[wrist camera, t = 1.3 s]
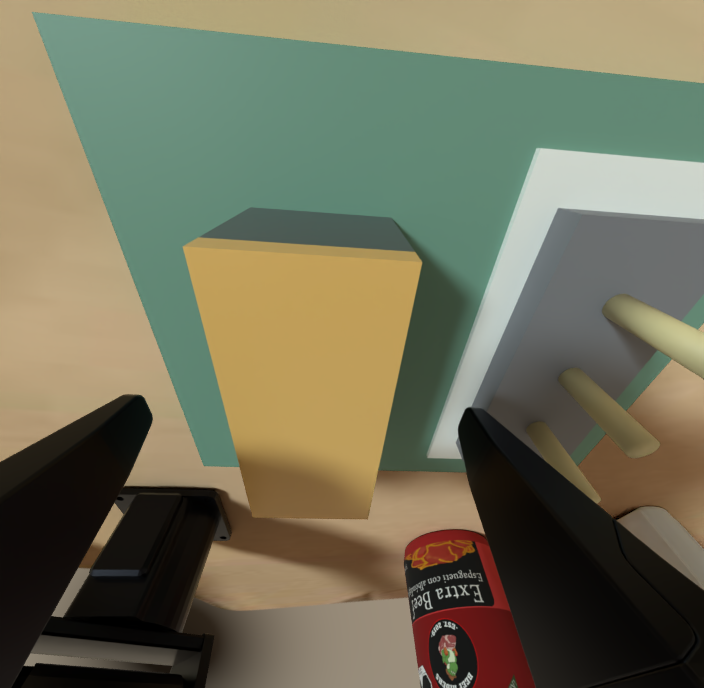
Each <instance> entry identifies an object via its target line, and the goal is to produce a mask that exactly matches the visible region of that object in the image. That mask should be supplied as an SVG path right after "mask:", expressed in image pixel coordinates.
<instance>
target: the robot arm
mask: <svg viewBox="0 0 704 688" xmlns="http://www.w3.org/2000/svg"><path fill="white" fill-rule="evenodd" d="M152 420H153V417H152V413H151V411H150V409H149V407H148V405H147V403H146V400H145V398H144V397H143V396H141V395H131V394H126V395H122V396H120V397H118V398H117V399H115V400H113V401H111V402H109V403H107V404H106V405H104V406H102V407H100V408H98V409H96V410H95V411H93V412H91V413H89V414H87V415H85V416H84V417H82V418H80V419H78V420H76V421H74V422H73V423H71V424H69V425H67V426H65V427H63V428H62V429H60V430H58V431H56V432H54V433H52V434H51V435H49V436H47V437H45V438H43V439H41V440H40V441H38V442H36V443H34V444H32V445H31V446H29V447H27V448H25V449H23V450H21V451H20V452H18V453H16V454H14V455H12V456H10V457H9V458H7V459H5V460H3V461H1V462H0V688H205V684H206V678H207V673H208V668H209V662H210V657H211V651H212V646H213V640H214V635H213V634H203V635H195V634H187V633H182V630H183V627H184V624H185V621H186V619H187V615H188V613H189V610H190V607H191V604H192V601H193V598H194V595H195V592H196V589H197V586H198V583H199V580H200V578H201V575H202V572H203V569H204V566H205V563H206V560H207V557H208V554H209V551H210V548H211V545H212V542H213V541H227V540H229V539H230V537H231V534H232V531H231V528H230V526H229V523H228V520H227V517H226V515H225V512H224V509H223V507H222V504H221V501H220V498H219V496H218V494H217V492H215V491H212V490H183V489H132V488H123V486H124V484H125V483H126V481H127V479H128V477H129V475H130V473H131V470H132V468H133V466H134V464H135V461H136V459H137V457H138V455H139V452H140V450H141V448H142V445H143V443H144V441H145V438H146V436H147V434H148V431H149V429H150V427H151V424H152ZM458 436H459V441H460V445H461V450H462V454H463V459H464V464H465V468H466V473H467V477H468V481H469V485H470V489H471V492H472V495H473V498H474V501H475V504H476V507H477V510H478V513H479V516H480V519H481V523H482V526H483V529H484V532H485V535H486V538H487V541H488V544H489V547H490V550H491V553H492V556H493V559H494V562H495V565H496V568H497V571H498V574H499V577H500V580H501V583H502V586H503V589H504V592H505V595H506V598H507V602H508V605H509V608H510V611H511V614H512V617H513V620H514V623H515V626H516V629H517V632H518V635H519V638H520V641H521V644H522V647H523V650H524V653H525V656H526V659H527V662H528V665H529V668H530V671H531V674H532V678H533V681H534V684H535V687H536V688H704V590H703V589H702V588H700V587H699V586H698V585H696V584H695V583H694V582H693V581H691V580H690V579H689V578H687V577H686V576H685V575H684V574H682V573H681V572H680V571H678V570H677V569H676V568H675V567H673V566H672V565H671V564H669V563H668V562H667V561H666V560H664V559H663V558H662V557H661V556H659V555H658V554H657V553H656V552H654V551H653V550H652V549H651V548H649V547H648V546H647V545H646V544H645V543H643V542H642V541H641V540H640V539H638V538H637V537H636V536H635V535H634V534H632V533H631V532H630V531H629V530H628V529H626V528H625V527H624V526H623V525H622V524H620V523H619V522H618V521H617V520H616V519H612V517H611V515H609V514H608V513H607V512H606V511H605V510H604V509H602V508H601V507H600V506H599V505H598V504H596V503H595V502H594V501H593V500H592V499H590V498H589V497H588V496H587V495H586V494H584V493H583V492H582V491H581V490H580V489H578V488H577V487H576V486H575V485H574V484H572V483H571V482H570V481H569V480H568V479H566V478H565V477H564V476H563V475H562V474H560V473H559V472H558V471H557V470H556V469H555V468H553V467H552V466H551V465H550V464H549V463H547V462H546V461H545V460H544V459H543V458H541V457H540V456H539V455H538V454H537V453H535V452H534V451H533V450H532V449H531V448H529V447H528V446H527V445H526V444H525V443H523V442H522V441H521V440H520V439H519V438H517V437H516V436H515V435H514V434H513V433H512V432H510V431H509V430H508V429H507V428H506V427H504V426H503V425H502V424H501V423H500V422H498V421H497V420H496V419H495V418H494V417H492V416H491V415H490V414H489V413H488V412H486V411H485V410H484V409H483V408H480V407H467V408H466V409H465V411H464V413H463V415H462V418H461V420H460V422H459V425H458ZM114 503H115V504H116V505H117V506H118V508H119V509H120V510H121V512H122V513H123V514H124V515H123V517H122V518H121V520H120V522H119V523H118V525H117V527H116V528H115V530H114V531H113V533H112V535H111V536H110V538H109V540H108V541H107V543H106V544H105V546H104V548H103V549H102V551H101V553H100V554H99V556H98V558H97V559H96V561H95V562H94V564H93V566H92V567H91V569H90V572H89V573H90V574H89V576H88V577H87V579H86V580H85V582H84V584H83V585H82V587H81V589H80V590H79V592H78V593H77V595H76V597H75V598H74V600H73V602H72V603H71V605H70V607H69V608H68V610H67V612H66V613H65V615H64V617H63V618H62V617H54V616H51V615H52V613H53V612H54V610H55V608H56V606H57V605H58V603H59V601H60V599H61V597H62V596H63V594H64V592H65V590H66V588H67V587H68V585H69V583H70V581H71V579H72V578H73V576H74V574H75V572H76V570H77V569H78V567H79V565H80V563H81V562H82V560H83V558H84V556H85V554H86V553H87V551H88V549H89V547H90V545H91V544H92V542H93V540H94V538H95V537H96V535H97V533H98V531H99V529H100V528H101V526H102V524H103V522H104V520H105V519H106V517H107V515H108V513H109V511H110V510H111V508H112V506H113V504H114ZM30 653H34V654H46V655H57V656H68V657H80V658H91V659H103V660H114V661H127V662H138V663H148V664H160V665H171V666H172V669H171V671H170V673H158V672H146V671H133V670H120V669H107V668H94V667H81V666H67V665H56V664H43V663H36V664H35V666H23V665H24V664H25V662H26V660H27V658H28V656H29V655H30Z"/></svg>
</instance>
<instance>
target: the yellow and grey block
mask: <svg viewBox="0 0 704 688" xmlns="http://www.w3.org/2000/svg"><path fill="white" fill-rule="evenodd" d="M183 250H184V254H185V258H186V262H187V266H188V269H189V273H190V277H191V281H192V285H193V289H194V293H195V296H196V300H197V304H198V308H199V312H200V316H201V320H202V323H203V327H204V331H205V335H206V339H207V343H208V347H209V351H210V354H211V358H212V362H213V366H214V370H215V374H216V378H217V381H218V385H219V389H220V393H221V397H222V401H223V405H224V408H225V412H226V416H227V420H228V424H229V428H230V432H231V436H232V439H233V443H234V447H235V451H236V455H237V459H238V463H239V466H240V470H241V474H242V478H243V482H244V486H245V490H246V493H247V497H248V501H249V505H250V509H251V513H252V517H253V518H313V519H368V516H369V511H370V507H371V502H372V497H373V492H374V488H375V483H376V478H377V473H378V469H379V464H380V459H381V455H382V450H383V445H384V440H385V436H386V431H387V426H388V422H389V417H390V412H391V407H392V403H393V398H394V393H395V389H396V384H397V379H398V374H399V370H400V365H401V360H402V356H403V351H404V346H405V341H406V337H407V332H408V327H409V323H410V318H411V313H412V308H413V304H414V299H415V294H416V290H417V285H418V280H419V275H420V271H421V266H422V261H421V259H420V258H419V257H418V255H417V254H416V252H415V251H414V249H413V248H412V247H411V245H410V244H409V242H408V241H407V239H406V238H405V237H404V235H403V234H402V232H401V231H400V229H399V228H398V227H397V225H396V224H395V222H394V221H393V219H392V218H390V217H376V216H363V215H349V214H335V213H322V212H308V211H295V210H281V209H267V208H254V207H250V208H248V209H247V210H245V211H243V212H241V213H240V214H238V215H236V216H234V217H233V218H231V219H229V220H228V221H226V222H224V223H222V224H221V225H219V226H217V227H215V228H214V229H212V230H210V231H208V232H207V233H205V234H203V235H202V236H200V237H198V238H196V239H195V240H193V241H191V242H189V243H188V244H186V245H184V246H183Z"/></svg>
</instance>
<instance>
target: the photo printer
mask: <svg viewBox="0 0 704 688" xmlns="http://www.w3.org/2000/svg"><path fill="white" fill-rule="evenodd" d="M617 521H618V522H619V523H620V524H622V525H623V526H624V527H625V528H626V529H628V530H629V531H630V532H631V533H632V534H634V535H635V536H636V537H637V538H638V539H640V540H641V541H642V542H643V543H645V544H646V545H647V546H648V547H649V548H651V549H652V550H653V551H654V552H656V553H657V554H658V555H659V556H661V557H662V558H663V559H664V560H666V561H667V562H668V563H669V564H671V565H672V566H673V567H675V568H676V569H677V570H678V571H680V572H681V573H682V574H684V575H685V576H686V577H687V578H689V579H690V580H691V581H693V582H694V583H695V584H696V585H698V586H699V587H700V588H702V589H703V590H704V549H703V548H702V547H701V546H700V545H699V543H698V542H697V541H696V540H695V539H694V538H693V537H692V536H691V535H690V534H689V532H688V531H687V530H686V529H685V528H684V527H683V526H682V525H681V524H680V523H679V522H678V521H677V520H676V519H675V518H673V517H672V516H671V515H670V514H669V513H668V512H667V511H666V510H665V509H663V508H660V507H654V506H645V507H639V508H637V509H636V510H634V511H632V512H631V513H629V514H627V515H625V516H623V517H622V518H620V519H618V520H617Z"/></svg>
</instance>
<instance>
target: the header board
mask: <svg viewBox="0 0 704 688" xmlns="http://www.w3.org/2000/svg"><path fill="white" fill-rule="evenodd" d="M32 14H33V16H34V19H35V22H36V24H37V27H38V29H39V32H40V35H41V37H42V40H43V43H44V45H45V48H46V51H47V53H48V56H49V59H50V61H51V64H52V66H53V69H54V72H55V74H56V77H57V80H58V82H59V85H60V88H61V90H62V93H63V95H64V98H65V101H66V103H67V106H68V109H69V111H70V114H71V117H72V119H73V122H74V125H75V127H76V130H77V132H78V135H79V138H80V140H81V143H82V146H83V148H84V151H85V154H86V156H87V159H88V161H89V164H90V167H91V169H92V172H93V175H94V177H95V180H96V183H97V185H98V188H99V191H100V193H101V196H102V198H103V201H104V204H105V206H106V209H107V212H108V214H109V217H110V220H111V222H112V225H113V227H114V230H115V233H116V235H117V238H118V241H119V243H120V246H121V249H122V251H123V254H124V257H125V259H126V262H127V264H128V267H129V270H130V272H131V275H132V278H133V280H134V283H135V286H136V288H137V291H138V293H139V296H140V299H141V301H142V304H143V307H144V309H145V312H146V315H147V317H148V320H149V323H150V325H151V328H152V330H153V333H154V336H155V338H156V341H157V344H158V346H159V349H160V352H161V354H162V357H163V360H164V362H165V365H166V367H167V370H168V373H169V375H170V378H171V381H172V383H173V386H174V389H175V391H176V394H177V396H178V399H179V402H180V404H181V407H182V410H183V412H184V415H185V418H186V420H187V423H188V426H189V428H190V431H191V433H192V436H193V439H194V441H195V444H196V447H197V449H198V452H199V455H200V457H201V460H202V462H203V465H204V466H220V467H240V466H239V463H238V459H237V455H236V451H235V447H234V443H233V439H232V436H231V432H230V428H229V424H228V420H227V416H226V412H225V408H224V405H223V401H222V397H221V393H220V389H219V385H218V381H217V378H216V374H215V370H214V366H213V362H212V358H211V354H210V351H209V347H208V343H207V339H206V335H205V331H204V327H203V323H202V320H201V316H200V312H199V308H198V304H197V300H196V296H195V293H194V289H193V285H192V281H191V277H190V273H189V269H188V266H187V262H186V258H185V254H184V250H183V246H184V245H186V244H188V243H189V242H191V241H193V240H195V239H196V238H198V237H200V236H202V235H203V234H205V233H207V232H208V231H210V230H212V229H214V228H215V227H217V226H219V225H221V224H222V223H224V222H226V221H228V220H229V219H231V218H233V217H234V216H236V215H238V214H240V213H241V212H243V211H245V210H247V209H248V208H250V207H254V208H267V209H281V210H295V211H308V212H322V213H335V214H349V215H363V216H376V217H390V218H392V219H393V221H394V222H395V224H396V225H397V227H398V228H399V229H400V231H401V232H402V234H403V235H404V237H405V238H406V239H407V241H408V242H409V244H410V245H411V247H412V248H413V249H414V251H415V252H416V254H417V255H418V257H419V258H420V259H421V261H422V266H421V271H420V275H419V280H418V285H417V290H416V294H415V299H414V304H413V308H412V313H411V318H410V323H409V327H408V332H407V337H406V341H405V346H404V351H403V356H402V360H401V365H400V370H399V374H398V379H397V384H396V389H395V393H394V398H393V403H392V407H391V412H390V417H389V422H388V426H387V431H386V436H385V440H384V445H383V450H382V455H381V459H380V464H379V469H378V470H386V471H428V472H466V468H465V464H464V459H463V454H462V450H461V445H460V441H459V436H458V425H459V422H460V420H461V418H462V415H463V413H464V411H465V409H466V408H467V407H480V408H483V409H484V410H485V411H486V412H488V413H489V414H490V415H491V416H492V417H494V418H495V419H496V420H497V421H498V422H500V423H501V424H502V425H503V426H504V427H506V428H507V429H508V430H509V431H510V432H512V433H513V434H514V435H515V436H516V437H517V438H519V439H520V440H521V441H522V442H523V443H525V444H526V445H527V446H528V447H529V448H531V449H532V450H533V451H534V452H535V453H537V454H538V455H539V456H540V457H541V458H543V459H544V460H545V461H546V462H547V463H549V464H550V465H551V466H552V467H553V468H555V469H556V470H557V471H558V472H559V473H560V474H562V475H563V476H564V477H565V478H566V479H568V480H569V481H570V482H571V483H572V484H574V485H575V486H576V487H577V488H578V489H580V490H581V491H582V492H583V493H584V494H586V495H587V496H588V497H589V498H590V499H592V500H593V501H594V502H595V503H596V504H598V503H599V502H600V501H601V498H600V496H599V495H598V494H597V492H596V491H595V490H594V488H593V487H592V486H591V484H590V483H589V482H588V480H587V479H586V477H585V476H584V475H583V473H582V472H581V471H580V469H579V468H578V467H577V466H578V465H579V464H580V463H581V462H582V460H583V459H584V458H585V457H586V456H587V455H588V454H589V453H590V451H591V450H592V449H593V448H594V447H595V446H596V445H597V443H598V442H599V441H600V440H601V439H602V438H603V437H604V435H605V434H607V435H608V436H609V437H610V438H611V439H612V440H613V441H614V442H615V443H616V444H617V445H618V447H619V448H620V449H621V450H622V451H623V452H624V453H625V454H626V455H627V456H628V457H630V458H640V457H644V456H647V455H649V454H651V453H653V452H655V451H656V450H657V449H658V448H659V446H660V442H659V441H658V440H657V439H656V438H655V437H653V436H652V435H651V434H650V433H649V432H648V431H647V430H646V429H645V428H644V427H643V426H642V425H640V424H639V423H638V422H637V421H636V420H635V419H634V418H633V417H632V416H631V415H630V414H629V413H627V412H626V411H627V409H628V408H629V407H630V406H631V405H632V404H633V403H634V401H635V400H636V399H637V398H638V397H639V396H640V395H641V393H642V392H643V391H644V390H645V389H646V388H647V387H648V386H649V384H650V383H651V382H652V381H653V380H654V379H655V378H656V376H657V375H658V374H659V373H660V372H661V371H662V370H663V369H664V367H665V366H666V365H667V364H668V363H669V362H670V361H671V359H673V360H674V361H676V362H677V363H679V364H681V365H682V366H684V367H685V368H687V369H689V370H690V371H692V372H693V373H695V374H696V375H698V376H700V377H701V378H703V379H704V333H703V332H701V331H699V330H698V329H699V328H700V327H701V325H702V324H703V323H704V83H695V82H686V81H676V80H667V79H657V78H648V77H639V76H629V75H620V74H610V73H601V72H591V71H582V70H573V69H563V68H554V67H544V66H535V65H526V64H516V63H507V62H497V61H488V60H479V59H469V58H460V57H450V56H441V55H431V54H422V53H413V52H403V51H394V50H384V49H375V48H366V47H356V46H347V45H337V44H328V43H319V42H309V41H300V40H290V39H281V38H271V37H262V36H253V35H243V34H234V33H224V32H215V31H206V30H196V29H187V28H177V27H168V26H159V25H149V24H140V23H130V22H121V21H111V20H102V19H93V18H83V17H74V16H64V15H55V14H46V13H36V12H32Z"/></svg>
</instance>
